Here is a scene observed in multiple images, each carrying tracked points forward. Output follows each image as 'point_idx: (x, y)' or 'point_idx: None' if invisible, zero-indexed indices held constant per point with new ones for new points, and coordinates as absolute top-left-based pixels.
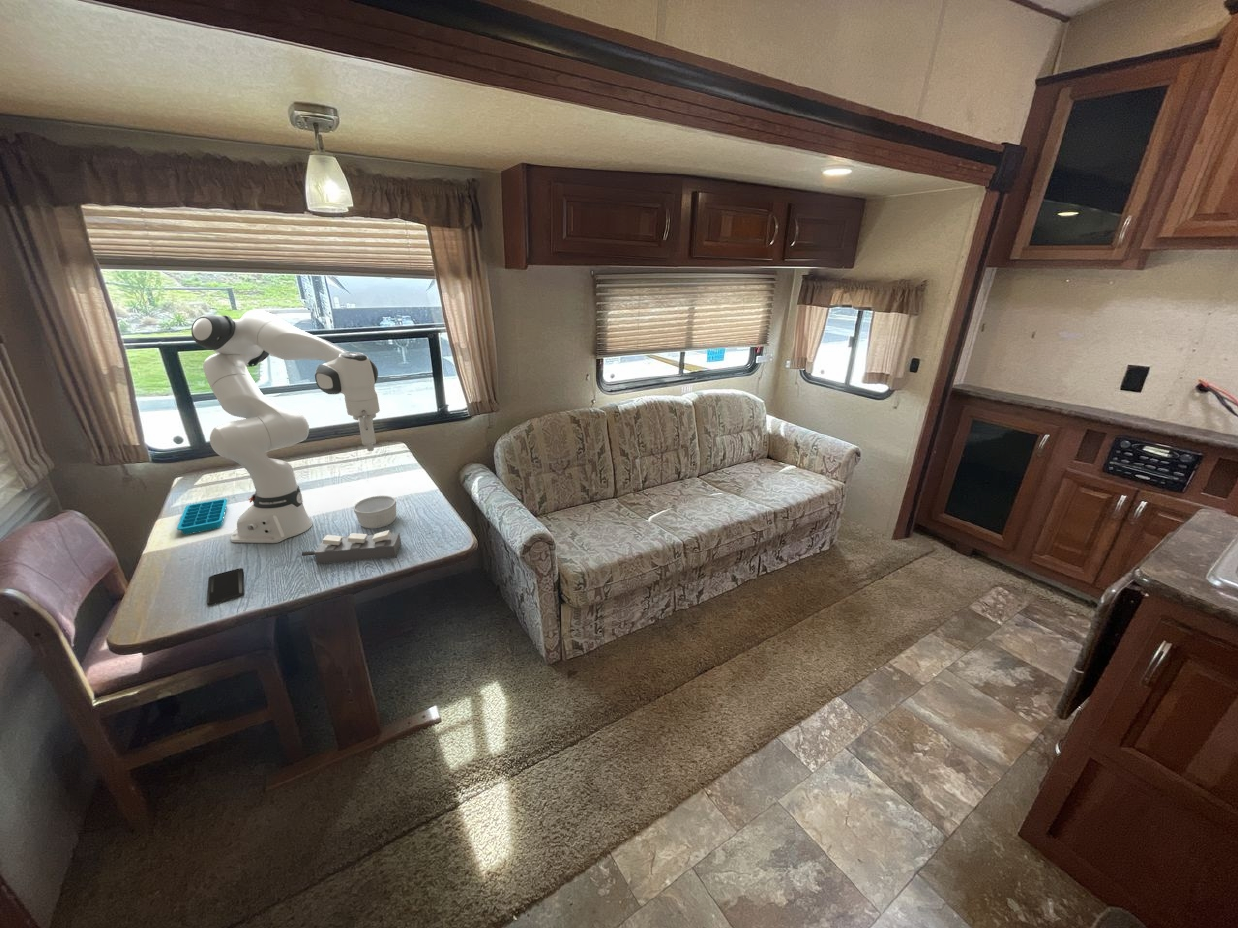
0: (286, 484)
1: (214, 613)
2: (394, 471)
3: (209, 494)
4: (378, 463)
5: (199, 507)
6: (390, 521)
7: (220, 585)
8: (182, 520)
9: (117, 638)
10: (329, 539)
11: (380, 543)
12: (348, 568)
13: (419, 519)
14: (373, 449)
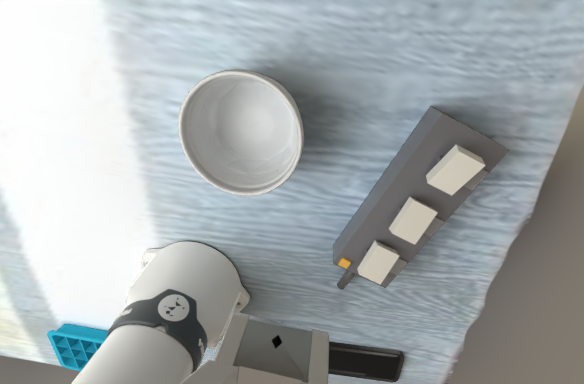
0: (169, 373)
1: (422, 376)
2: None
3: (7, 331)
4: None
5: (75, 358)
6: (294, 100)
7: (352, 366)
8: None
9: None
10: (383, 272)
11: None
12: (448, 231)
13: (313, 7)
14: (328, 338)
